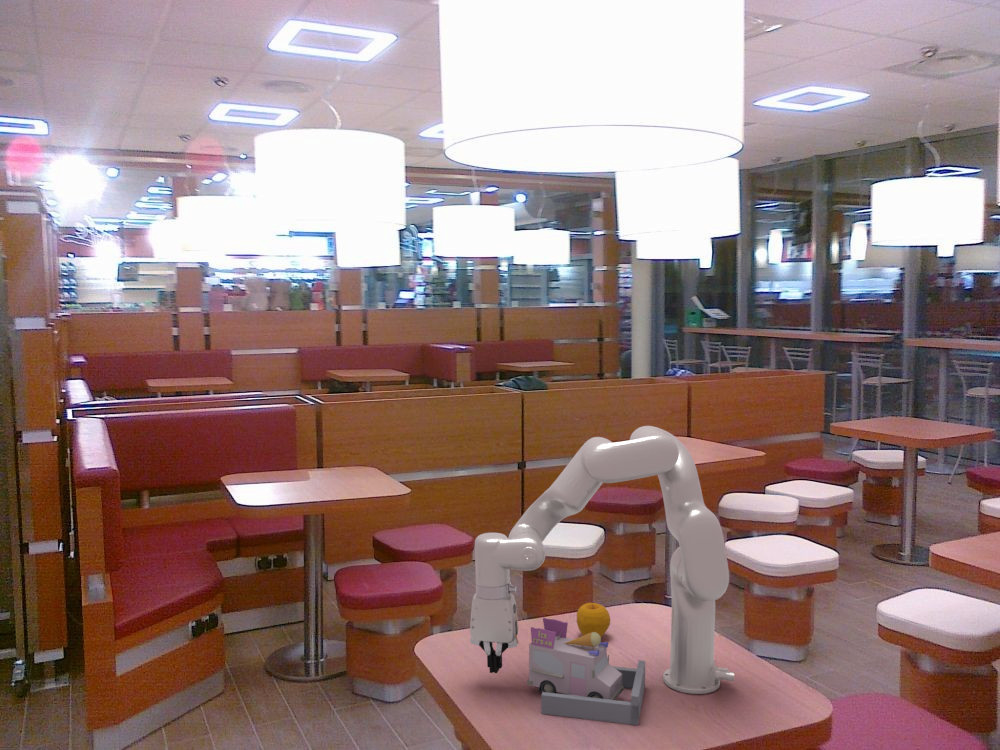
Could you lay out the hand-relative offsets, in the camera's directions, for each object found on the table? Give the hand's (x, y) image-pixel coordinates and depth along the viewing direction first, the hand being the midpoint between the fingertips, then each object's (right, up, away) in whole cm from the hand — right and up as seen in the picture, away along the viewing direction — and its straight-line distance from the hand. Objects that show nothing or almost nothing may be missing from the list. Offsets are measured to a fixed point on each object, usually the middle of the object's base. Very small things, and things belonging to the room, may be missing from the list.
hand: (494, 670), depth 193 cm
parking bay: (+22, -5, -5) cm, 23 cm away
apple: (+25, -2, +29) cm, 38 cm away
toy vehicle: (+17, -5, -3) cm, 18 cm away
